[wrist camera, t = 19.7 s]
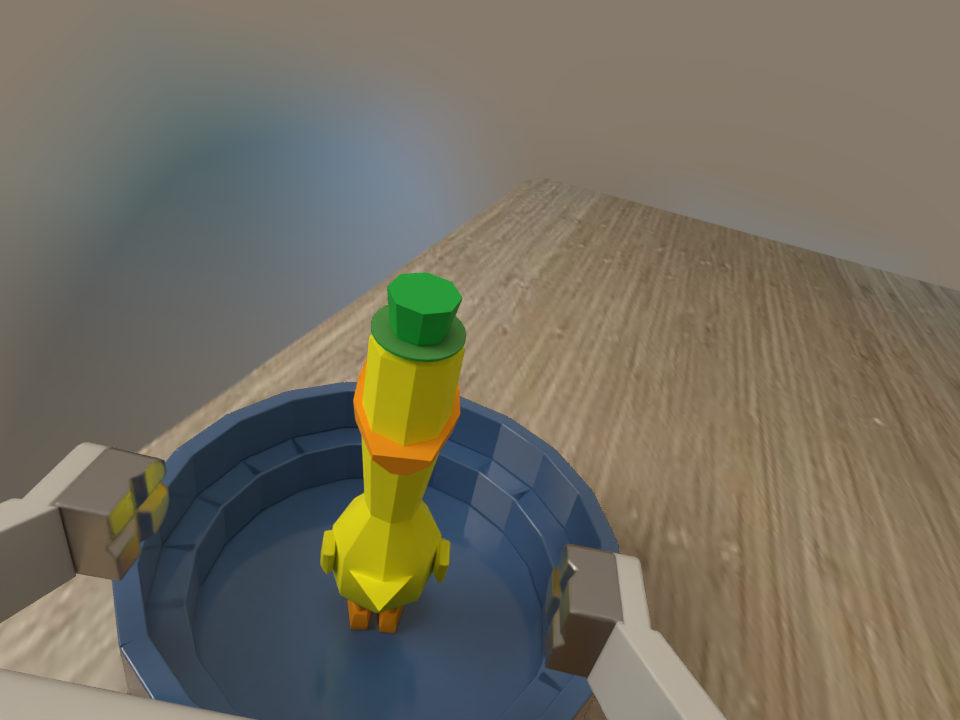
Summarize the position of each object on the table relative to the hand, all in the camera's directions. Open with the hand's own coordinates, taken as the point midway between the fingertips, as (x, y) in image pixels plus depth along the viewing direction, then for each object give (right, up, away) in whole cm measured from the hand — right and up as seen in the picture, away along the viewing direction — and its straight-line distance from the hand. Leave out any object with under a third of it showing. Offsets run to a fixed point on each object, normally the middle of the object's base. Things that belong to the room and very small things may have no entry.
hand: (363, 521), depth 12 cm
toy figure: (-1, -5, +8) cm, 9 cm away
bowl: (-1, -5, +8) cm, 10 cm away
